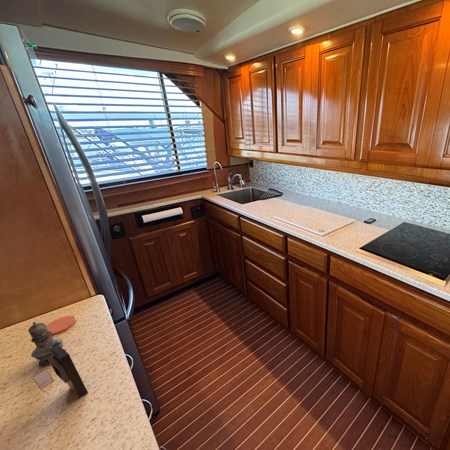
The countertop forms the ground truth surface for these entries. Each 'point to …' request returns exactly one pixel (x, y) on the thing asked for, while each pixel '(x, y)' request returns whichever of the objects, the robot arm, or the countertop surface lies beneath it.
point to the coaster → (61, 324)
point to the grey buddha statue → (43, 343)
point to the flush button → (43, 379)
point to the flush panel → (67, 370)
